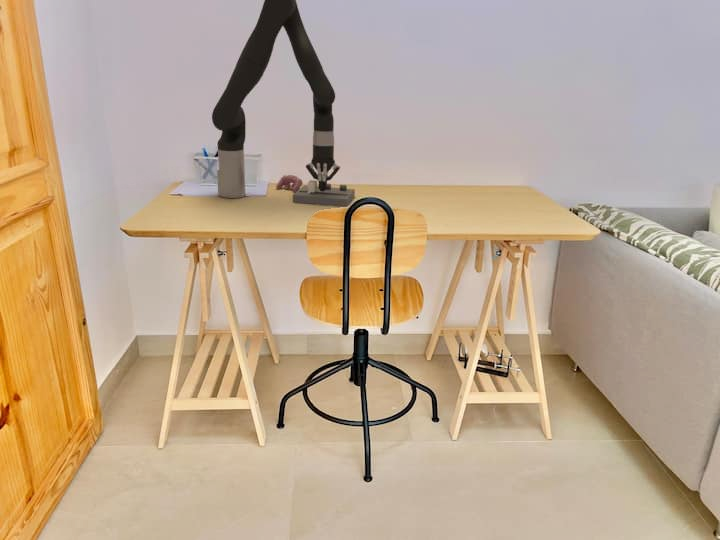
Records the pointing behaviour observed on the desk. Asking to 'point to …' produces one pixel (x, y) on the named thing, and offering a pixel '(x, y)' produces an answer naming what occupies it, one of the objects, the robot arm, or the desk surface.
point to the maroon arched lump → (286, 182)
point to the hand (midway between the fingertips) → (322, 190)
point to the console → (325, 196)
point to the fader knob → (312, 185)
